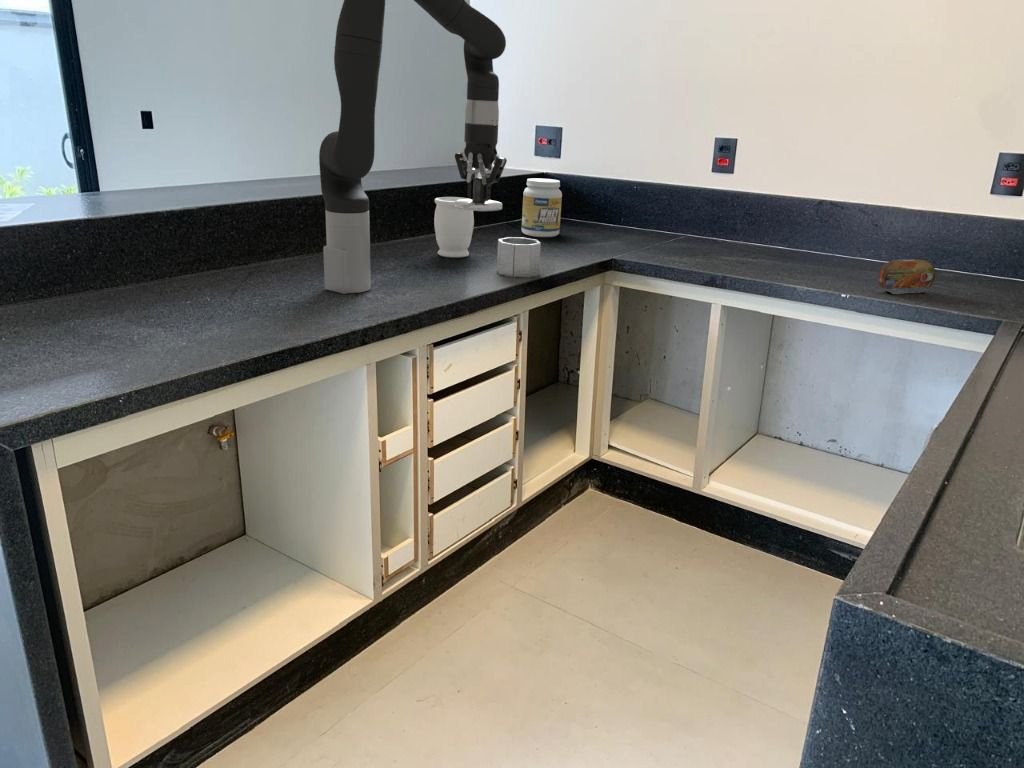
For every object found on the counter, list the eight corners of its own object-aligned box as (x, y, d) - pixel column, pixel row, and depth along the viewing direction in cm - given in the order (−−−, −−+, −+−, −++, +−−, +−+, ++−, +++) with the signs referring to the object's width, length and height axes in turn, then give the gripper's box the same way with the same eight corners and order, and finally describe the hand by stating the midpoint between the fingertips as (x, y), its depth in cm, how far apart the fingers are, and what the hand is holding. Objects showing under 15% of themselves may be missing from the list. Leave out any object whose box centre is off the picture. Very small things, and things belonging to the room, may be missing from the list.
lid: (483, 212, 177) (484, 181, 174) (445, 206, 182) (445, 176, 180) (511, 208, 185) (512, 179, 183) (474, 202, 191) (475, 174, 189)
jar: (475, 252, 220) (476, 197, 214) (469, 260, 210) (471, 202, 205) (437, 250, 221) (438, 195, 215) (430, 257, 211) (431, 200, 206)
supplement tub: (533, 238, 244) (536, 182, 238) (514, 231, 254) (516, 177, 248) (566, 236, 250) (570, 182, 244) (546, 230, 260) (549, 177, 254)
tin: (881, 295, 194) (889, 261, 191) (873, 291, 197) (880, 258, 194) (932, 293, 198) (940, 260, 195) (922, 290, 201) (930, 257, 198)
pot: (522, 279, 192) (524, 246, 189) (489, 272, 197) (491, 240, 194) (545, 273, 199) (547, 241, 197) (513, 266, 205) (514, 235, 202)
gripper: (446, 119, 178) (445, 197, 184) (496, 124, 170) (493, 205, 177) (467, 120, 184) (465, 195, 190) (516, 124, 176) (512, 202, 182)
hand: (478, 199), depth 183 cm, fingers closed on lid, 3 cm apart
